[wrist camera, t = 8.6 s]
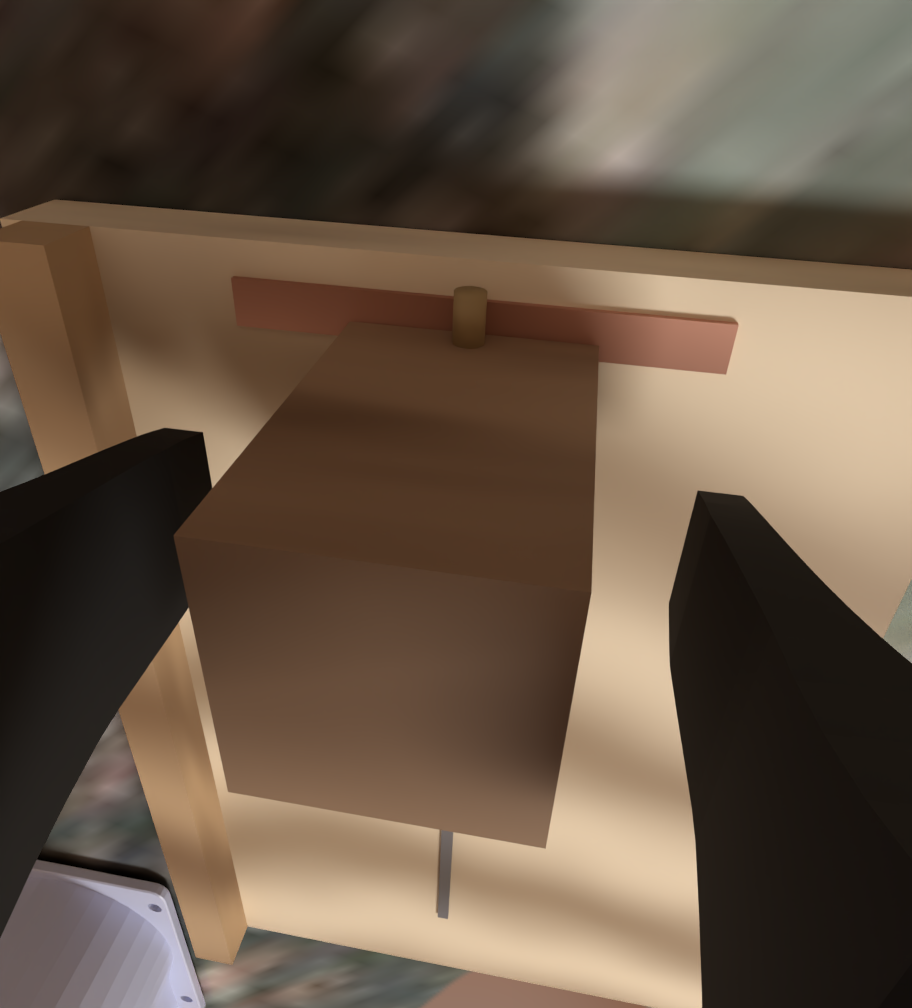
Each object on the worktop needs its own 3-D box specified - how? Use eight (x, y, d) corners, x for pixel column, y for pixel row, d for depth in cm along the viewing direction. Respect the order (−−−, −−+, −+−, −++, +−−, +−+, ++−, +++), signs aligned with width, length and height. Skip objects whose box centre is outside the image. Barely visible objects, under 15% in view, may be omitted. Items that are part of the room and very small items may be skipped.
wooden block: (568, 550, 14) (545, 847, 9) (358, 523, 14) (227, 791, 9) (607, 294, 11) (604, 519, 6) (347, 272, 12) (158, 464, 7)
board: (695, 964, 24) (704, 1062, 22) (220, 873, 26) (184, 954, 24) (996, 276, 12) (1087, 339, 10) (54, 199, 14) (-53, 236, 11)
